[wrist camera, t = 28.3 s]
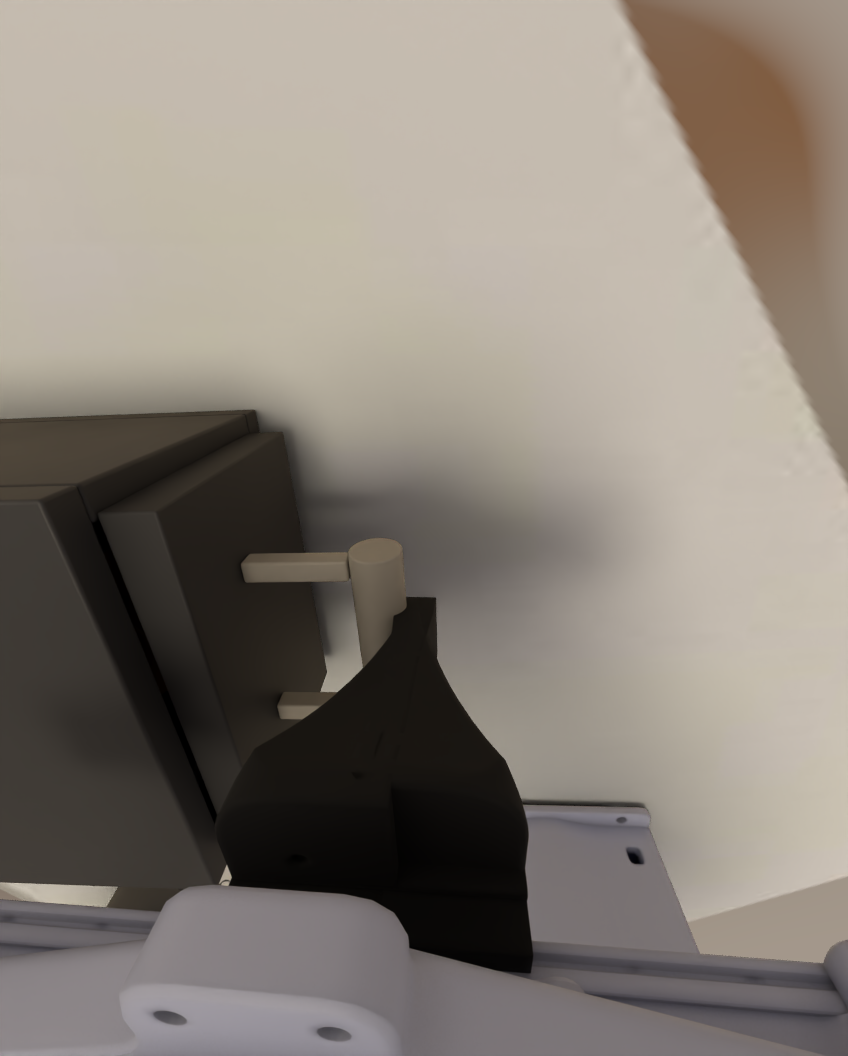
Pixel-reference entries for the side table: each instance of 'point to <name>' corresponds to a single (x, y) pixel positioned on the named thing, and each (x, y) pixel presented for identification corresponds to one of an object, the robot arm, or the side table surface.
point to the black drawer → (239, 599)
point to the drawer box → (91, 663)
